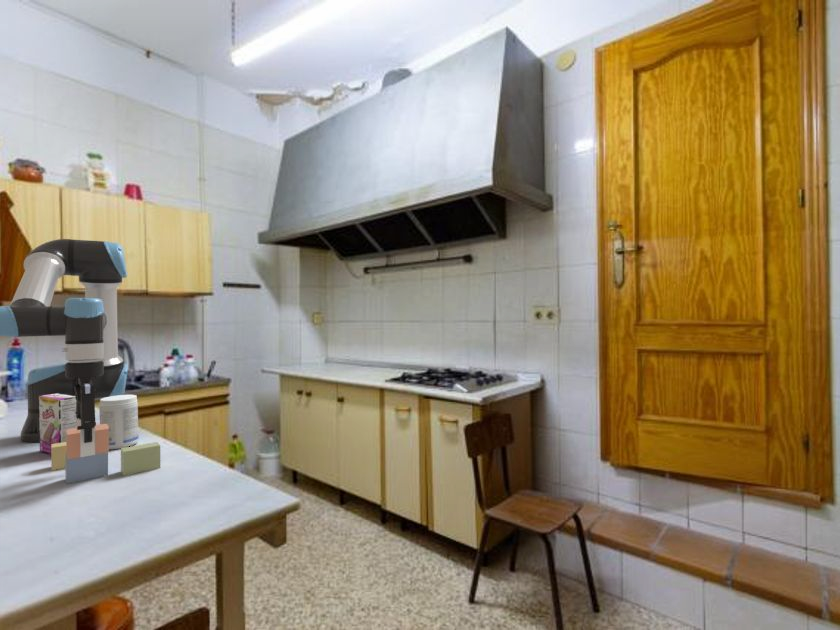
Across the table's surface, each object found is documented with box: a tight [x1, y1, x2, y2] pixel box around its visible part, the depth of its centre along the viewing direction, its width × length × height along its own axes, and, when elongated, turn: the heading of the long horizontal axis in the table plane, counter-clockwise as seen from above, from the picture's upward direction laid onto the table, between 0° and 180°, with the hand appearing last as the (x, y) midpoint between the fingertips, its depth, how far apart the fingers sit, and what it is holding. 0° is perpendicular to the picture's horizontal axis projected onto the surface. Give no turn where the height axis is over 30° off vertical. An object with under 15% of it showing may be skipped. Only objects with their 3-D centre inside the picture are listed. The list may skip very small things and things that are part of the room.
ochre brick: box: [50, 442, 66, 471], centre depth 115 cm, size 8×4×6 cm, turn 132°
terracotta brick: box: [66, 423, 110, 459], centre depth 105 cm, size 8×4×6 cm, turn 132°
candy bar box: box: [39, 393, 77, 455], centre depth 125 cm, size 11×5×16 cm, turn 65°
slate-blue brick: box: [64, 452, 109, 484], centre depth 106 cm, size 8×4×6 cm, turn 132°
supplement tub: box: [99, 394, 140, 450], centre depth 132 cm, size 10×10×15 cm
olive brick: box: [120, 441, 161, 477], centre depth 111 cm, size 8×4×6 cm, turn 132°
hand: (85, 449), depth 106 cm, fingers open, 11 cm apart
